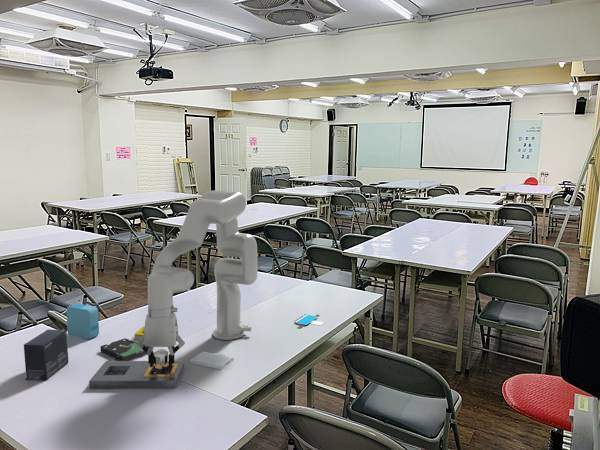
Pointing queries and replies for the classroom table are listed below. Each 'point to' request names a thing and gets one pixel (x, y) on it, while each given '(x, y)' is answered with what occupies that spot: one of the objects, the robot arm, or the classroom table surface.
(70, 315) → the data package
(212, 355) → the hard drive
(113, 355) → the disk drive
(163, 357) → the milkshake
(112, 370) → the grey sorting tray
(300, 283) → the classroom table surface
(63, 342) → the small box
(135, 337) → the emergency button
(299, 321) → the phone stand
